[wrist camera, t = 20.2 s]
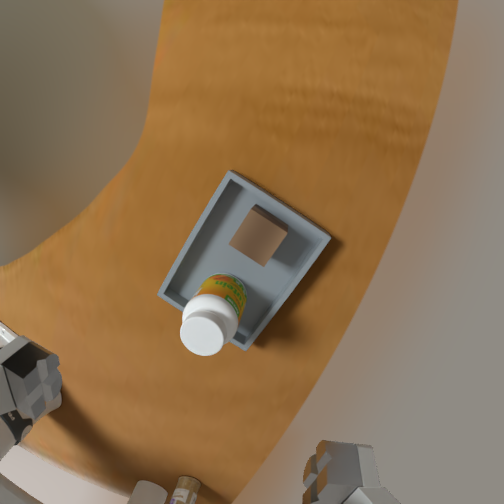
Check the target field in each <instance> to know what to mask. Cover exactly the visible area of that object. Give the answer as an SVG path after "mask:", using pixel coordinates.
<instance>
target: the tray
mask: <svg viewBox="0 0 504 504" xmlns="http://www.w3.org/2000/svg"><path fill="white" fill-rule="evenodd" d="M255 204H257V205H259V206H260V207H262V208H263V209H265V210H266V211H268V212H269V213H271V214H273V215H274V216H276V217H277V218H279V219H280V220H282V221H283V222H285V223H286V224H288V233H287V235H286V236H285V238H284V239H283V240H282V242H281V243H280V245H279V246H278V248H277V249H276V251H275V252H274V253H273V255H272V256H271V258H270V259H269V261H268V262H267V264H266V265H265V266H264V267H263V266H261V265H259V264H258V263H256V262H255V261H253V260H252V259H250V258H249V257H247V256H246V255H244V254H243V253H241V252H239V251H238V250H236V249H235V248H233V247H232V246H230V245H229V242H230V241H231V239H232V237H233V236H234V234H235V233H236V231H237V230H238V228H239V226H240V225H241V223H242V222H243V220H244V219H245V217H246V216H247V214H248V212H249V211H250V209H251V208H252V207H253V206H254V205H255ZM330 239H331V236H330V234H329V233H328V232H327V231H325V230H324V229H322V228H321V227H320V226H318V225H317V224H315V223H314V222H312V221H311V220H309V219H308V218H306V217H305V216H303V215H302V214H300V213H299V212H297V211H296V210H294V209H293V208H291V207H290V206H288V205H287V204H285V203H284V202H282V201H281V200H279V199H278V198H276V197H275V196H273V195H272V194H270V193H269V192H267V191H265V190H264V189H262V188H261V187H259V186H258V185H256V184H255V183H253V182H251V181H250V180H248V179H247V178H245V177H244V176H242V175H240V174H239V173H237V172H236V171H234V170H228V172H227V174H226V175H225V177H224V178H223V180H222V182H221V183H220V185H219V187H218V188H217V190H216V192H215V193H214V195H213V197H212V198H211V200H210V202H209V203H208V205H207V207H206V208H205V210H204V212H203V213H202V215H201V217H200V218H199V220H198V222H197V224H196V225H195V227H194V229H193V230H192V232H191V234H190V236H189V237H188V239H187V241H186V243H185V244H184V246H183V248H182V250H181V252H180V253H179V255H178V257H177V259H176V260H175V262H174V264H173V266H172V268H171V270H170V271H169V273H168V275H167V277H166V279H165V281H164V282H163V284H162V286H161V288H160V290H159V292H158V294H157V295H158V296H159V297H161V298H162V299H164V300H165V301H167V302H168V303H170V304H171V305H173V306H174V307H176V308H177V309H179V310H180V311H182V312H183V311H184V308H185V307H186V305H187V303H188V302H189V301H190V299H191V298H192V297H193V296H194V294H195V293H196V291H197V290H198V289H199V287H200V286H201V285H202V283H203V282H204V281H205V280H206V279H207V278H208V277H209V276H211V275H213V274H216V273H228V274H231V275H233V276H235V277H237V278H238V279H239V280H240V281H241V282H242V283H243V285H244V287H245V289H246V292H247V302H246V305H245V308H244V311H243V314H242V317H241V320H240V322H239V325H238V328H237V331H236V333H235V335H234V337H233V338H232V339H231V340H230V341H229V342H231V343H233V344H234V345H236V346H238V347H239V348H241V349H243V350H245V351H246V350H247V349H248V348H249V347H250V345H251V344H252V343H253V342H254V340H255V339H256V338H257V337H258V335H259V334H260V333H261V331H262V330H263V329H264V328H265V326H266V325H267V324H268V323H269V321H270V320H271V319H272V317H273V316H274V315H275V313H276V312H277V311H278V310H279V308H280V307H281V306H282V304H283V303H284V302H285V300H286V299H287V298H288V296H289V295H290V294H291V292H292V291H293V290H294V288H295V287H296V286H297V284H298V283H299V282H300V280H301V279H302V278H303V276H304V275H305V274H306V272H307V271H308V270H309V268H310V267H311V265H312V264H313V263H314V261H315V260H316V259H317V257H318V256H319V254H320V253H321V252H322V250H323V249H324V247H325V246H326V245H327V243H328V242H329V240H330Z"/></svg>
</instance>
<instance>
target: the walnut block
mask: <svg viewBox="0 0 504 504" xmlns="http://www.w3.org/2000/svg"><path fill="white" fill-rule="evenodd" d="M287 233H288V224H286V223H285V222H283V221H282V220H280V219H279V218H277V217H276V216H274V215H273V214H271V213H269V212H268V211H266V210H265V209H263V208H262V207H260V206H259V205H257V204H255V205H254V206H253V207H252V208H251V209H250V211H249V212H248V214H247V216H246V217H245V219H244V220H243V222H242V223H241V225H240V226H239V228H238V230H237V231H236V233H235V234H234V236H233V237H232V239H231V241H230V242H229V245H230V246H232V247H233V248H235V249H236V250H238V251H239V252H241V253H243V254H244V255H246V256H247V257H249V258H250V259H252V260H253V261H255V262H256V263H258V264H259V265H261V266H263V267H264V266H265V265H266V264H267V262H268V261H269V259H270V258H271V256H272V255H273V253H274V252H275V251H276V249H277V248H278V246H279V245H280V243H281V242H282V240H283V239H284V238H285V236H286V235H287Z"/></svg>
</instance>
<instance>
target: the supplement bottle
mask: <svg viewBox="0 0 504 504" xmlns="http://www.w3.org/2000/svg"><path fill="white" fill-rule="evenodd" d="M246 302H247V292H246V289H245V287H244V285H243V283H242V282H241V281H240V280H239V279H238V278H237V277H235V276H233V275H231V274H228V273H216V274H213V275H211V276H209V277H208V278H207V279H206V280H205V281H204V282H203V283H202V285H201V286H200V287H199V289H198V290H197V291H196V293H195V294H194V296H193V297H192V298H191V299H190V301H189V302H188V303H187V305H186V307H185V308H184V311H183V316H182V321H183V324H182V326H181V329H180V337H181V340H182V342H183V344H184V345H185V346H186V348H187V349H189V350H190V351H191V352H193V353H195V354H198V355H202V356H209V355H213V354H215V353H217V352H218V351H219V350H220V349H221V348H222V346H223V345H224V344H226V343H227V342H229V341H230V340H231V339H232V338H233V337H234V335H235V333H236V331H237V328H238V325H239V322H240V320H241V317H242V314H243V311H244V308H245V305H246Z"/></svg>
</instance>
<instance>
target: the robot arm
mask: <svg viewBox="0 0 504 504" xmlns="http://www.w3.org/2000/svg"><path fill="white" fill-rule="evenodd" d="M59 365H60V363H59V358H58V356H57V355H56V354H54V353H52V352H51V351H49V350H47V349H45V348H44V347H42V346H40V345H39V344H37V343H35V342H34V341H32V340H30V339H28V338H27V337H25V336H24V335H22V336H18V335H16V334H15V333H14V332H13V331H11V330H10V329H9V328H8V327H6V326H5V325H4V324H3V323H1V322H0V461H1V459H2V458H3V457H4V456H5V455H6V454H7V452H8V451H9V450H10V449H11V448H12V447H13V445H17V444H18V443H19V442H20V441H21V440H23V439H24V438H25V437H26V435H27V434H28V433H29V432H30V431H31V429H32V427H33V425H34V424H35V423H36V422H37V421H38V420H40V419H41V418H42V417H43V416H45V415H46V414H48V413H49V412H51V411H53V410H54V409H57V408H58V407H60V405H61V402H62V398H61V393H60V389H61V387H62V376H61V374H60V372H59V370H58V369H57V367H58V366H59ZM303 484H304V485H305V487H306V488H307V490H306V492H305V493H304V494H303V503H302V504H401V503H400V502H399V501H398V500H397V499H396V498H395V497H394V496H393V495H392V494H391V493H390V492H389V491H388V490H387V489H386V488H385V487H380V481H379V476H378V471H377V466H376V461H375V456H374V451H373V447H372V446H371V445H363V444H353V443H344V442H335V441H326V440H322V441H321V442H320V443H319V444H318V446H317V447H316V454H314V455H312V456H311V457H310V458H309V460H308V462H307V464H306V467H305V470H304V475H303ZM0 504H43V503H42V502H40V501H38V500H37V499H35V498H34V497H32V496H31V495H29V494H28V493H27V492H25V491H24V490H22V489H21V488H19V487H18V486H17V485H15V484H14V483H13V482H11V481H10V480H9V479H7V478H6V477H5V476H3V475H2V474H1V473H0Z"/></svg>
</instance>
